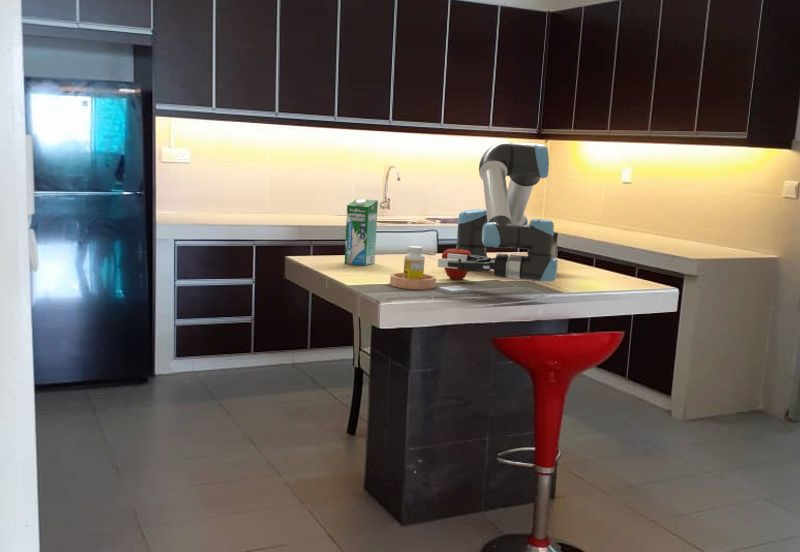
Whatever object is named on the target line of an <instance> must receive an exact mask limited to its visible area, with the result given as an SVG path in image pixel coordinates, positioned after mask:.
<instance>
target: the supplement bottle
mask: <svg viewBox="0 0 800 552" xmlns="http://www.w3.org/2000/svg"><path fill="white" fill-rule="evenodd" d="M407 250H408V253H406V254H405V255H404V260H403V261H404V263H403V273H404V275H403V278H405V279H417V280H421V279H423V275H424V274H425V272H424V271H425V255H423V254H422V251H423V246H420V245H408V247H407Z"/></svg>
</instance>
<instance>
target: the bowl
mask: <svg viewBox="0 0 800 552" xmlns="http://www.w3.org/2000/svg"><path fill="white" fill-rule="evenodd" d="M403 275H404V272H395V273H391V274H390V281H389V285H390V286H392V287H395V288H399V289H407V290H431V289H435V288H436V286H437V277H436V276H435V275H431V274H428V273H424V275H423V279H421V280H417V279H405V278H403Z"/></svg>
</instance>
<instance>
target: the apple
mask: <svg viewBox="0 0 800 552" xmlns="http://www.w3.org/2000/svg"><path fill="white" fill-rule="evenodd" d="M448 253H449V254H460V255H467V257H468V255H472V254H471V253H470V251H467V250H463V249H459V247H458V249H456V248H448V249H445V250H444V251H443V252H442V253H441V259H447V255H448ZM444 271H445V274H446V276H447V277H448V278H449V279H450V280H455V281H457V280H458V281H461V280H464V279H465V277H466V276H467V274H468V272H469V271H470V270H459V269H454V268H444Z"/></svg>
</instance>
